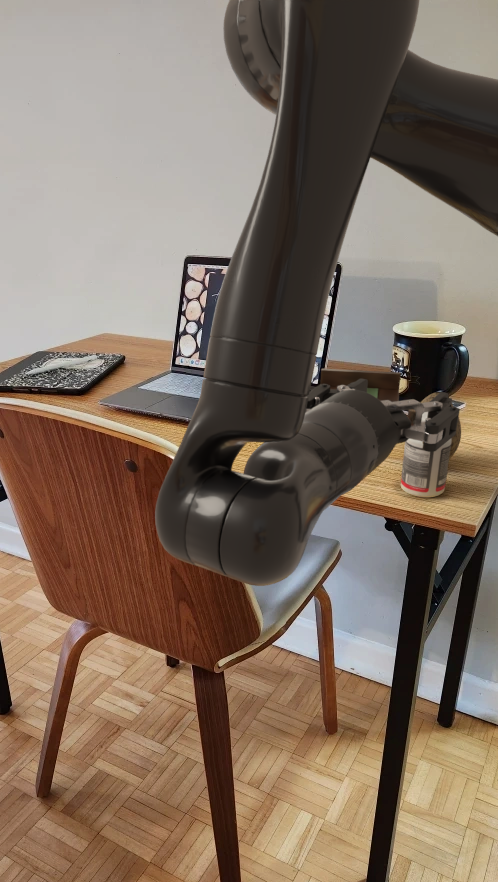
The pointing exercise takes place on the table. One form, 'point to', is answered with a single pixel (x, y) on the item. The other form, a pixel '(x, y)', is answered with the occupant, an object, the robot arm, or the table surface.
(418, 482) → the pill bottle
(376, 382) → the bench
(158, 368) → the table surface
